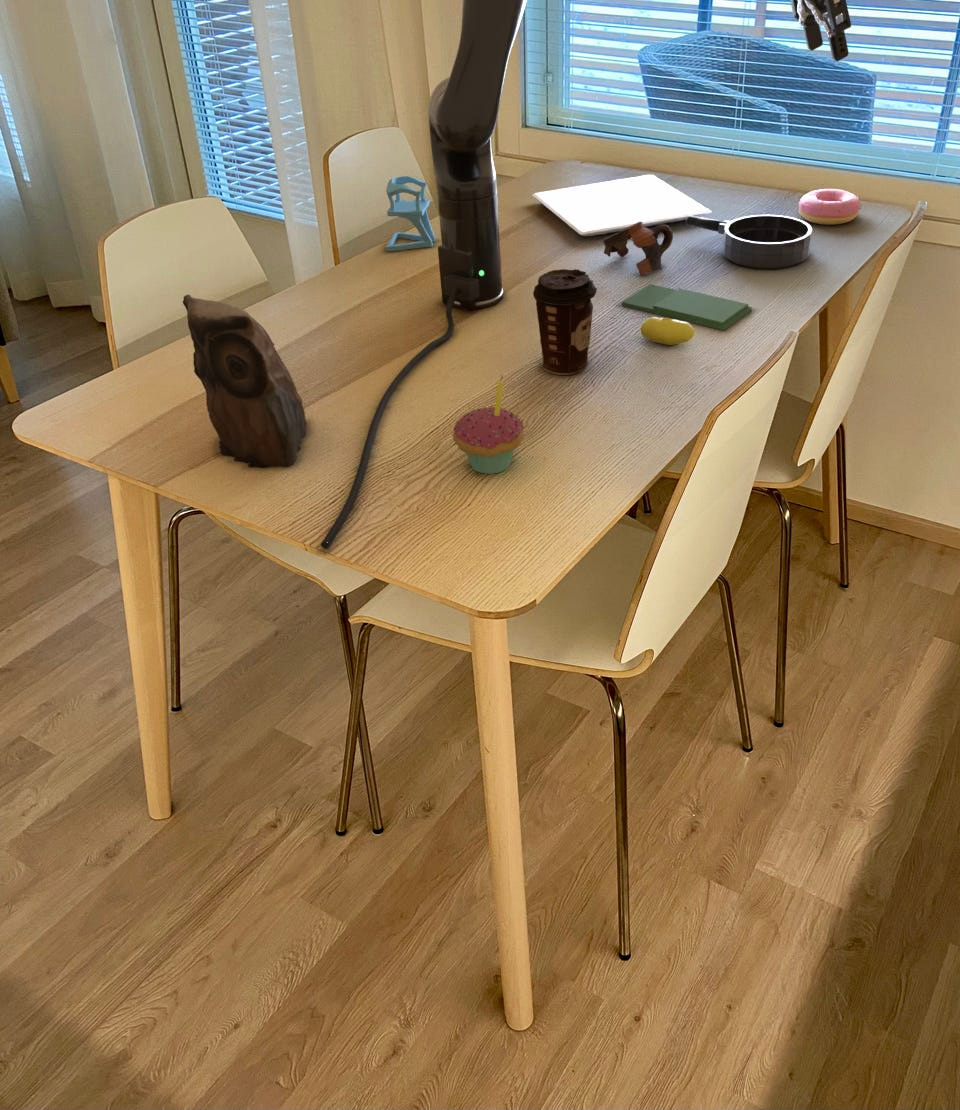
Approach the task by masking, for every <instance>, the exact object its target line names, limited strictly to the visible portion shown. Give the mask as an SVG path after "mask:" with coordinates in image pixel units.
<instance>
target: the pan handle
mask: <svg viewBox="0 0 960 1110" xmlns="http://www.w3.org/2000/svg"><path fill="white" fill-rule="evenodd" d="M731 221H732V220H717V219H712V218H707V217H703V216H700V217H696V216H689V217H688V218H687V219H686V220H685V224H686V225H687V226H688V227H692V228H696V229H702V230H708V231H712V232H717V234H720V235H724V228H725V226H726V225H727V224H728V223H729V222H731Z"/></svg>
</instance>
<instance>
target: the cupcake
mask: <svg viewBox="0 0 960 1110" xmlns="http://www.w3.org/2000/svg"><path fill="white" fill-rule="evenodd" d="M503 379H504V374H501V376H500V379H499V380H497V386H496V395H495V403H494V406H488V407H486V406H484V407H483V408H477V409H473V410H471V411H470V412H467V413H465V414H463V415H462V416H461V418H460V419H458V420H457V421H456V423H455V424H454V427H453V431H452V439H453V441H454V443H455V445H456V446H457V447H458V449H459V451H461V452H464V453H465V454H466V456H467V458H468V460H469V463H470V465H471V467H472V469H473V470H474V471H476V472H478V473H481V474H485V475H486V474H487V475H490V474H492V475H493V474H498V473H501V472H504V471H506V470H507V469H508V468H509V467H510V465H511V461H512V458H513V455H514V452H515V449H517V448H518V447H519V446H521V444H522V442H523V440H524V437H525V428H524V422H523V420H522V419H521V418H519V416H517V415H516V414H515V413H514V412H512V411H508V410H507V409H505V408H502V397H503V389H504V380H503Z"/></svg>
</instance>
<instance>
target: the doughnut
mask: <svg viewBox="0 0 960 1110" xmlns="http://www.w3.org/2000/svg"><path fill="white" fill-rule="evenodd" d="M797 207H798V213H799V215H800V216H801V218H803V219H804V220H805V221H807V222H810V223H813V224H818V225H828V226H829V225H830V226H831V225H841V224H846V223H849V222H851V221H854V219H855V218H857V216H858V215H859V213H860V210H862V203H861V199H859V196H857V195H856V194H854V193H853V192H850V191H847V190H844V189H838V188H837V189H836V188H823V189H816V190H811V191H808V192H806V193H805V194H803V196H802V197H800V200H799V202H798V204H797Z"/></svg>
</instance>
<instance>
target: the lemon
mask: <svg viewBox="0 0 960 1110" xmlns="http://www.w3.org/2000/svg"><path fill="white" fill-rule="evenodd" d="M639 329H640V334H641V336H642V337H643V338H645V339H646V340H648V341H651V342H654V343H659V344H663V345H668V346H675V345H678V344H682V343H686V342H688V341H690V340H691V339H693V338H694V336H695V329H694V327H693V326H692V324H691V323H690V322H687V321H683V320H679V319H675V318H671V317H659V316H658V317H657V316H652V317H649V318H648V319H646V320H645V321H643V323H642V324H641V326H640V328H639Z"/></svg>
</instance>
